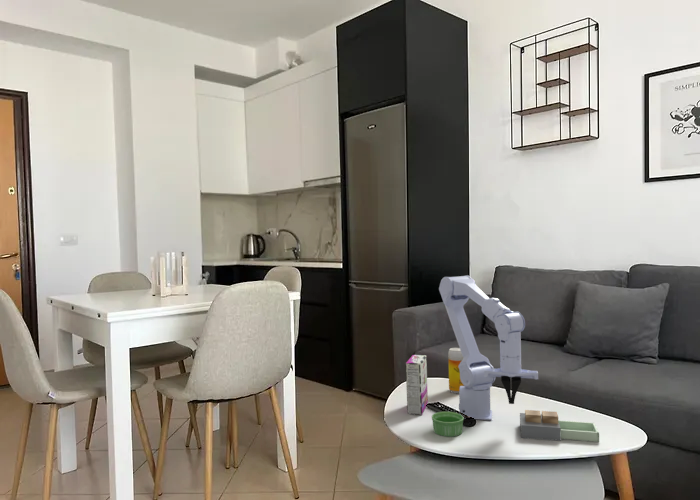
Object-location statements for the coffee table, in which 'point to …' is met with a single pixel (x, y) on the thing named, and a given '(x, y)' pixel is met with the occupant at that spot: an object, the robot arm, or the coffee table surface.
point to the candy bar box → (416, 384)
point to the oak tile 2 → (549, 417)
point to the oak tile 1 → (532, 416)
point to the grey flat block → (539, 429)
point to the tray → (579, 431)
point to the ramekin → (447, 423)
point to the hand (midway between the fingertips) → (511, 402)
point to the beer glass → (454, 369)
